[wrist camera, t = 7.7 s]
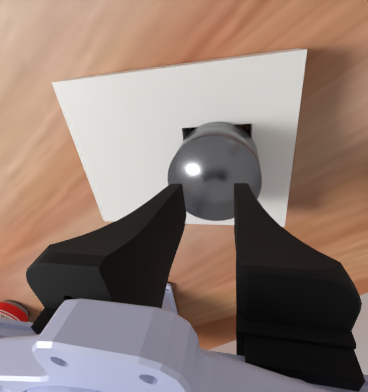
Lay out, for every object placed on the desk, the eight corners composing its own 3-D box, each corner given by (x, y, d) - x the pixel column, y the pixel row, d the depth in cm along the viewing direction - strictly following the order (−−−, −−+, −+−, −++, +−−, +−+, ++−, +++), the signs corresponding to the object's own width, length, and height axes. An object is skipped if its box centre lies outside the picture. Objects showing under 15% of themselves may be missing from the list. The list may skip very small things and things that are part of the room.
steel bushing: (255, 177, 20) (260, 221, 15) (190, 179, 21) (175, 220, 16) (256, 107, 17) (263, 134, 12) (181, 115, 18) (159, 142, 13)
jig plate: (279, 205, 21) (284, 226, 19) (117, 203, 25) (104, 221, 22) (296, 48, 15) (307, 49, 12) (76, 77, 19) (51, 82, 16)
